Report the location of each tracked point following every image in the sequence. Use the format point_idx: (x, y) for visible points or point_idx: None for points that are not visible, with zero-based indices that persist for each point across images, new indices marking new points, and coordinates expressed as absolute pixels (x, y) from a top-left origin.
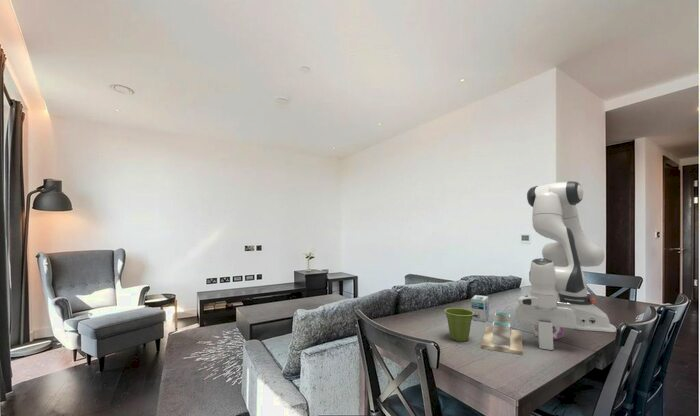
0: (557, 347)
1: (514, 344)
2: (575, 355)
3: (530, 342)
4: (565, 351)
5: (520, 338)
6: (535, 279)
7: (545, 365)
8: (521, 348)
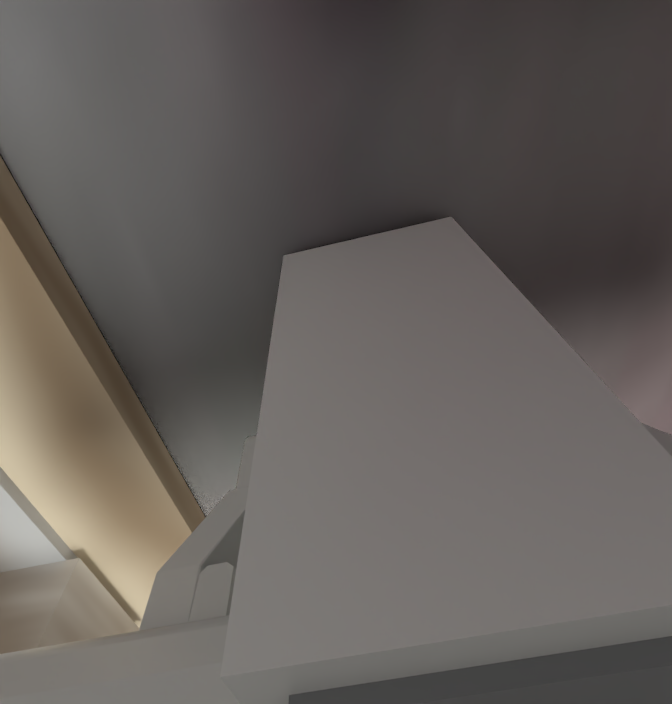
0: (516, 272)
1: (138, 566)
2: (660, 403)
3: (198, 300)
4: (586, 353)
5: (77, 371)
6: None
7: None
8: None
